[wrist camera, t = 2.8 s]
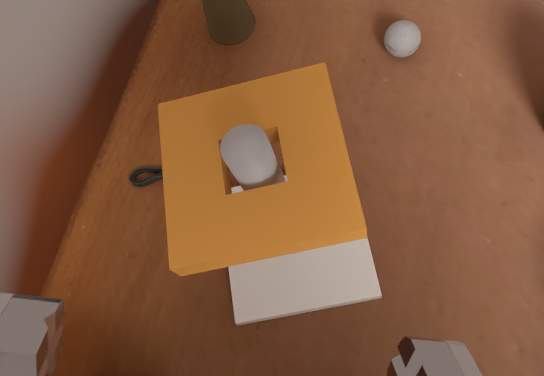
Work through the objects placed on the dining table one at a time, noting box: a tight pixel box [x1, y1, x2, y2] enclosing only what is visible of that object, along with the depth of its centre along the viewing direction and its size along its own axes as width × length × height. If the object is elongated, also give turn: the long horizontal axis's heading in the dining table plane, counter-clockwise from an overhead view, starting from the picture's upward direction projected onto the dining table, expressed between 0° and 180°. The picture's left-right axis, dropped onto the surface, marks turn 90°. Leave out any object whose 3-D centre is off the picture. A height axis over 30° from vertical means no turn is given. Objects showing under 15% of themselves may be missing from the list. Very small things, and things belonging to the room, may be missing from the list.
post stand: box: [220, 124, 382, 325], centre depth 39 cm, size 14×14×22 cm
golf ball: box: [384, 20, 421, 57], centre depth 53 cm, size 4×4×4 cm
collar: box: [158, 62, 367, 276], centre depth 31 cm, size 12×12×2 cm
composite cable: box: [129, 167, 163, 187], centre depth 54 cm, size 10×5×2 cm, turn 77°
